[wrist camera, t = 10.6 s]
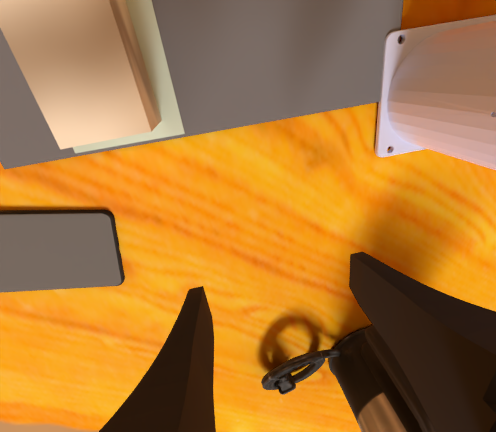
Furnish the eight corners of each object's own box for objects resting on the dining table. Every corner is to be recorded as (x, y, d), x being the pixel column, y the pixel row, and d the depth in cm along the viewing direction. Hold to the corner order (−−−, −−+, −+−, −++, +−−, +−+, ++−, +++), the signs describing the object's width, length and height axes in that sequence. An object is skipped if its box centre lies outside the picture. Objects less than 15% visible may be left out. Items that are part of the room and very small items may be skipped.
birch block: (161, 120, 17) (151, 131, 14) (89, 134, 17) (60, 149, 13) (111, -48, 13) (79, -91, 10) (18, -33, 13) (-50, -73, 10)
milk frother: (409, 353, 34) (539, 526, 21) (300, 408, 36) (356, 598, 23) (375, 284, 28) (531, 471, 14) (243, 355, 29) (277, 578, 16)
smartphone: (124, 286, 23) (-94, 299, 20) (127, 279, 23) (-83, 290, 21) (111, 211, 20) (-148, 214, 17) (114, 206, 20) (-133, 208, 18)
